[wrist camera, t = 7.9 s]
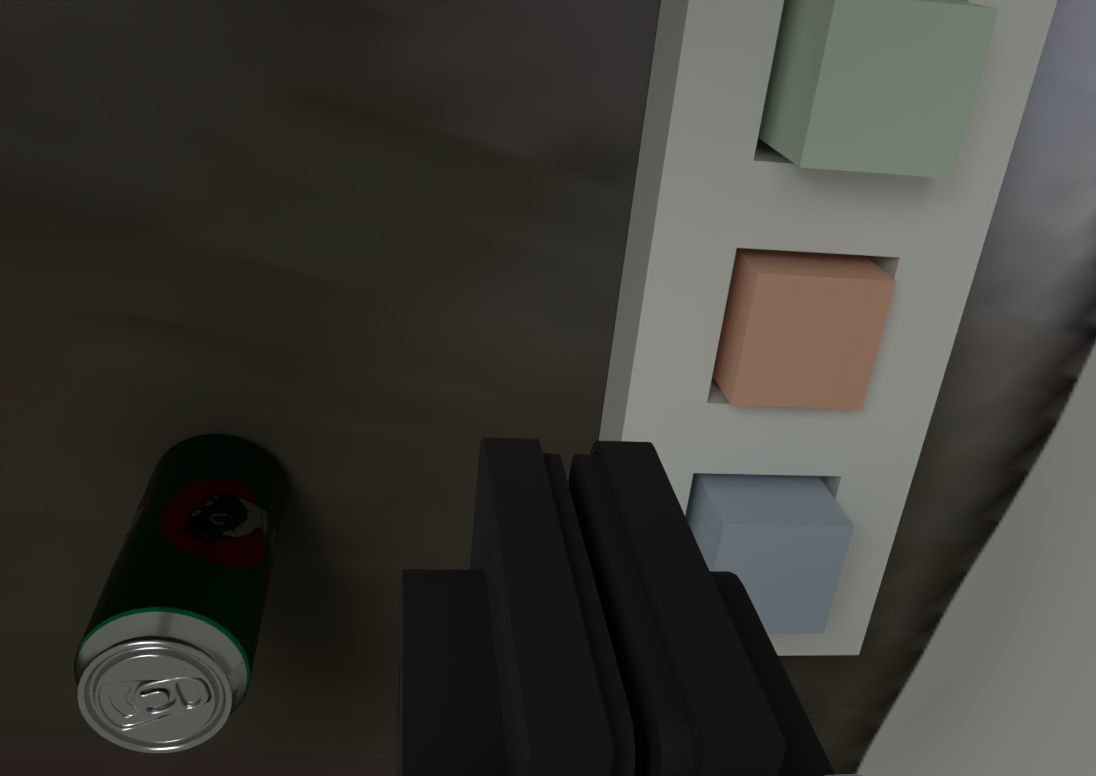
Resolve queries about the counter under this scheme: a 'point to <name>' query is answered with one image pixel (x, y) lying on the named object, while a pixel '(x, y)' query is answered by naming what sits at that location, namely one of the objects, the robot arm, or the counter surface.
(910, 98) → the sage key
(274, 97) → the counter surface
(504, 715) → the robot arm
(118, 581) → the soda can
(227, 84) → the counter surface
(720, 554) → the slate key
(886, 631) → the counter surface
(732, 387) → the terracotta key
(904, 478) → the keypad housing
